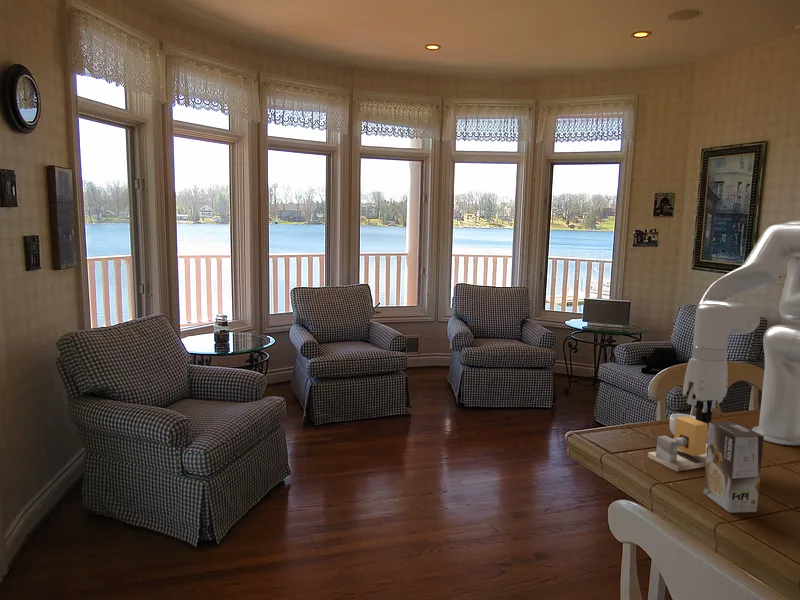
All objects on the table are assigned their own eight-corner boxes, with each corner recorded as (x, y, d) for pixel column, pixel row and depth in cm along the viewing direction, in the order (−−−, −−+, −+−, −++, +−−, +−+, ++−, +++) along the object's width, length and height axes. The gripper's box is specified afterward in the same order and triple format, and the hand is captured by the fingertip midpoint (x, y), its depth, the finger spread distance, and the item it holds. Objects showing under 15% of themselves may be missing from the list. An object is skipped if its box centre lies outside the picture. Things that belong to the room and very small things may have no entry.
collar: (685, 445, 145) (687, 416, 144) (705, 454, 140) (708, 423, 139) (673, 447, 144) (675, 417, 143) (693, 456, 138) (695, 425, 137)
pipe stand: (707, 447, 150) (709, 425, 149) (738, 460, 142) (740, 436, 141) (647, 457, 143) (649, 433, 142) (676, 471, 135) (678, 446, 134)
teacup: (667, 430, 163) (669, 412, 162) (697, 434, 160) (699, 416, 160) (669, 442, 154) (670, 422, 153) (701, 446, 151) (703, 427, 150)
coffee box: (758, 512, 115) (766, 436, 113) (728, 513, 115) (736, 436, 113) (729, 492, 124) (735, 420, 122) (701, 492, 124) (707, 421, 122)
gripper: (718, 349, 146) (711, 419, 148) (673, 352, 141) (667, 424, 143) (745, 355, 139) (737, 428, 141) (699, 359, 134) (692, 434, 136)
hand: (702, 426), depth 142 cm, fingers closed
